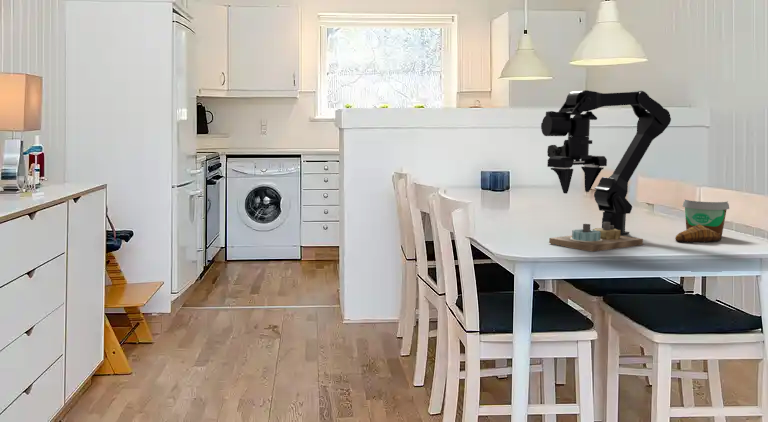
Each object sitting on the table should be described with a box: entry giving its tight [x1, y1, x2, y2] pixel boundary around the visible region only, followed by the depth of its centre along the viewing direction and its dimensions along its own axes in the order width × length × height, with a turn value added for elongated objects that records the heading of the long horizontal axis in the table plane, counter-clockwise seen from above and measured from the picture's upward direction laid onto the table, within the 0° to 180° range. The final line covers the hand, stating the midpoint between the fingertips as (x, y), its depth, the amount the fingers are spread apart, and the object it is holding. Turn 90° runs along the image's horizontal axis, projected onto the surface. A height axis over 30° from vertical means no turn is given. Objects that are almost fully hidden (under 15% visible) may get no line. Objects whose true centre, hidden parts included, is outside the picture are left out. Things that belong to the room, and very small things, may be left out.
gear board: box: [548, 222, 644, 252], centre depth 201 cm, size 20×14×6 cm
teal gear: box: [571, 228, 601, 241], centre depth 198 cm, size 7×7×2 cm
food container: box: [682, 199, 730, 238], centre depth 217 cm, size 12×6×10 cm, turn 68°
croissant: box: [675, 224, 722, 243], centre depth 208 cm, size 14×7×5 cm, turn 104°
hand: (576, 192), depth 215 cm, fingers open, 9 cm apart
